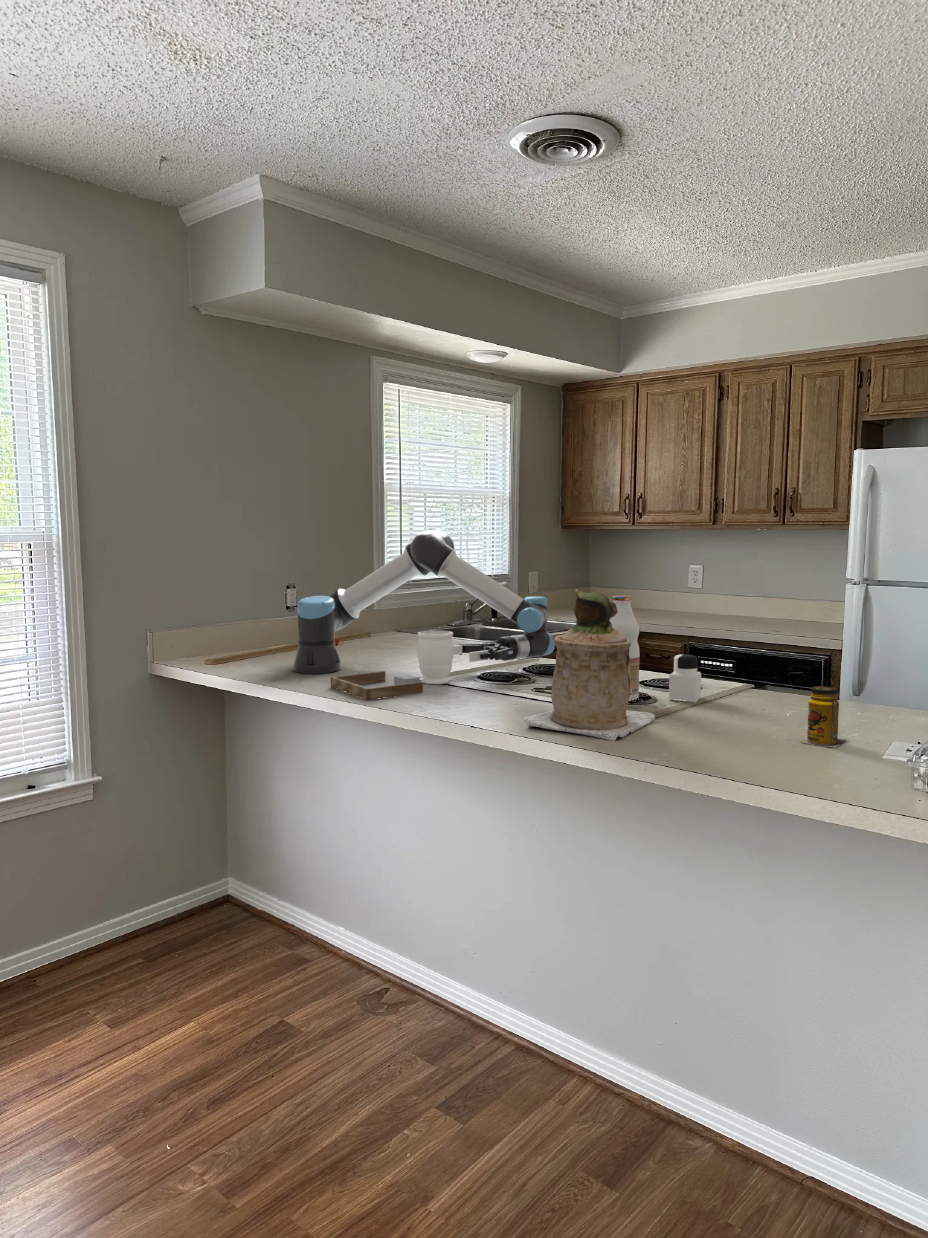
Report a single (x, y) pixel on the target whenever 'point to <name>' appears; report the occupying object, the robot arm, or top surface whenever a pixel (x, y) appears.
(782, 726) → the top surface
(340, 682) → the tray
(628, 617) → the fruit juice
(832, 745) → the condiment
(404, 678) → the tile
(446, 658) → the jar
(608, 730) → the cookie jar
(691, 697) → the medicine bottle
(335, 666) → the robot arm
